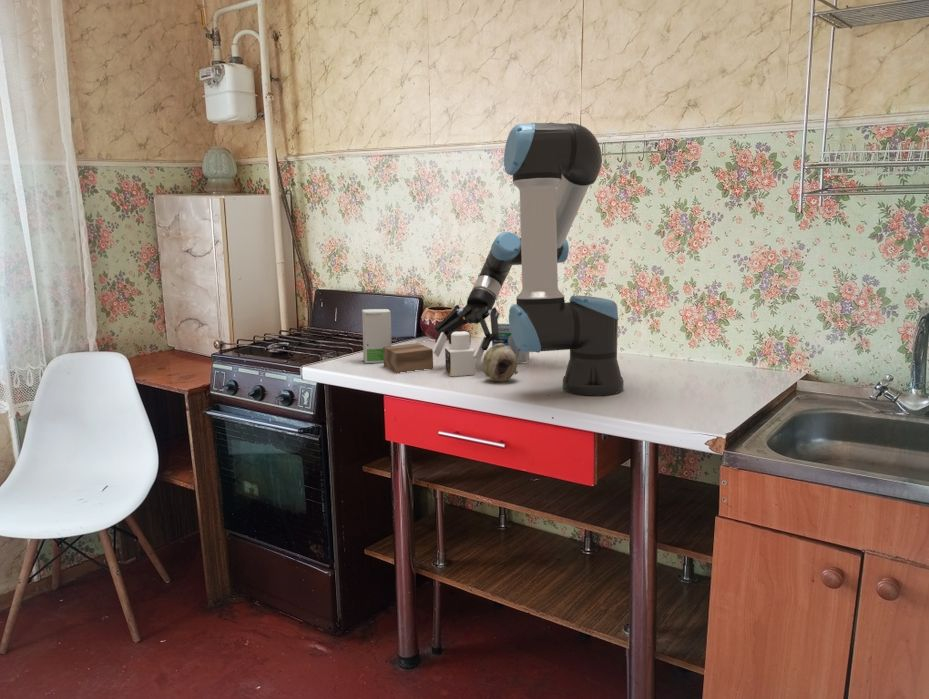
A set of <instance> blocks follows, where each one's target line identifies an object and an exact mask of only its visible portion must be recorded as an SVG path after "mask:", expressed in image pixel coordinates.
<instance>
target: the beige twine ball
mask: <svg viewBox="0 0 929 699" xmlns="http://www.w3.org/2000/svg"><path fill="white" fill-rule="evenodd" d="M483 355H484V356H483V361H482V366H481V367H482V372H483V374H484V375H485V376H486V377H487V378H489V379H490V380H491V381H494V382H500V383H504V381H507V380H508V381H509V379H512V377H513V376H514V375H517V374H518V373H519V370H517V364H518V363H517V358H516V355H515V354H514V352H513V351H512V349H511V347H510V346H505V345H504V344H503V343H499V344H496V345H494V346H492V345H491V347H488V349H487V350H486V351H485V353H484V354H483Z"/></svg>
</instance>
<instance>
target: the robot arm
mask: <svg viewBox="0 0 929 699" xmlns="http://www.w3.org/2000/svg"><path fill="white" fill-rule="evenodd" d="M602 154H603V153H602V149H601V146H600V143H599V142H598V140H597V138H596V136H595V135H594V133H593V132H591V130H590V129H589V128H587V127H585V126H583V125H582V124H578V123H572V122H571V123H553V122H552V123H551V122H549V123H548V122H530V123H529V122H527V123H519V124H516V125H514V126H513V127H512V128H511V130H510V131H509V133H508V135H507V138H506V142H505V146H504V153H503V166H504V170H505V173H506V174H507V175H509V176H512V184H513V185H514V186H516V188H517V189H518V190H519V214H520V215H519V217H520V222H519V223H520V237H519V236H518V235H517V234H516V233H513V232H511V231H502V232H500V233H498V235H497V236H496V237H495V239H494V240H493V242H492V244H491V247H490V250H489V253H488V254H487V257H486V259H485V261H484V264H483V265H482V269H481V270H480V272H479V275H478V276H477V278H476V281H475V283H474V284H473V287H472V289H471V290H470V294H469V295H468V297H467V299H466V305H465V306H464V307H461V306H460V305H459V304H457V305H454V307H453V309H452V311H450V313H449V314H448V315H446V316H445V318H443V319H442V320H441V321H440V322H439V323H438V324H437V325H436V326H435V327H434V330H435V332H436V333H437V336H436V338H435V341H434V343H435V344H434V346H433V348H432V349H433V350H432V351H433V354H434V355H435V357H437V358H438V357H440V354H441V352H442V350H443V349H444V346H445V344H446V342H447V340H448V337H447V336H449V333H450V332H451V331H454V330H458V329H459V328H460V327H461V326H463V325H466V324H474V325H479V324H480V326H481V328H482V331H483V334H484V335H481V338H480V340H479V342H478V344H477V347H476V349H475V353H474V355H473V356H474V357H475V361H477V362H480V361H481V359H482V357H483V355H484V354H485V353H484V352H485V351H487V350H488V349H489V348H490V347H489V346H490V344H491V343H492V340H498V339H499V331H498V324H499V323H498V322H499V321H498V319H499V317H500V316H499V315H500V313H499V311H498V310H497V308H496V307H494V305H495V303H496V301H497V298H498V296H499V294H500V292H501V289H502V287H503V285H504V283H505V281H506V278H507V277H508V275H509V272H510V270H511V269H512V267H513V266H521V282H522V283H521V285H522V287H521V289H522V290H520V292H519V294H518V295H517V296H516V300H515V301H516V304H513V305H512V306H510V308H509V311H508V324H509V325H510V331H511V334H512V337H513V340H514V342H515V344H516V346H517V347H518V348H519V349H520V350H521V351H523V352H529V353H541V352H552V351H568V350H569V360H568V363H567V366H566V370H565V373H564V374H565V375H563V377H562V389H563V390H564V391H565V392H568V393H570V394H571V393H572V394H575V395H581V396H608V395H610V396H611V395H615V394H619V393H621V392H622V391H624V381H625V380H624V378H623V376H622V374H621V373H622V372H621V370H620V365H619V361H618V331H619V330H618V328H619V327H618V326H619V325H618V324H619V315H618V314H619V312H618V305H617V302H615V301H614V300H611V299H608V298H604V297H596V296H589V295H588V296H587V295H578V294H577V295H571V296H570V297H569V301H568V302H565V295H564V294H563V293H562V292H561V291H560V289H559V286H558V285H559V284H558V283H559V282H558V278H559V277H558V276H559V275H558V264H560V263H561V264H562V263H565V262H566V261H567V259H568V257H569V250H570V246H569V242H568V240H567V237H568V234H569V233H570V229H571V227H572V226H573V223H574V221H575V218H576V216H577V214H578V211H579V209H580V208H581V205H582V202H583V200H584V198H585V196H586V195H587V191H588V189H589V187H590V186H591V185H593V184H594V183H595V182H596V180H597V179H598V176H599V174H600V171H601V168H602V163H603V162H602V161H603V160H602V157H603V156H602ZM488 317H490V328H491V329H489V327H488V324H487V321H486V319H487V318H488ZM490 330H491V332H490Z"/></svg>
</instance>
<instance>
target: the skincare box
mask: <svg viewBox="0 0 929 699" xmlns="http://www.w3.org/2000/svg"><path fill="white" fill-rule="evenodd" d="M361 313H362V315H361V316H362V350H363V351H362V355H363V356H362V357H363V361H364V363H365V364H382V363H383V364H384V355H383V347H388V346H392V315H391V314H392V312H391V310H389V309H388V308H380V309H379V308H374V309H373V308H370V309H361Z"/></svg>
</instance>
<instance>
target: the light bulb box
mask: <svg viewBox="0 0 929 699" xmlns="http://www.w3.org/2000/svg"><path fill="white" fill-rule="evenodd" d="M498 331H499V339H498V340H492V341H491V347H492V346H494V345H496V344H499V343H503V344H504V345H505V346H510V347H511V349H512V351H513V352H514V354H515V355H516V358H517V362H527V361H529V360H528V359H530V352H523V351H521V350H520V349H519V348H518V347H517V346H516V344H515V342H514V340H513V337H512V334H511V331H510V325H509V323H498ZM527 363H528V362H527Z"/></svg>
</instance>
